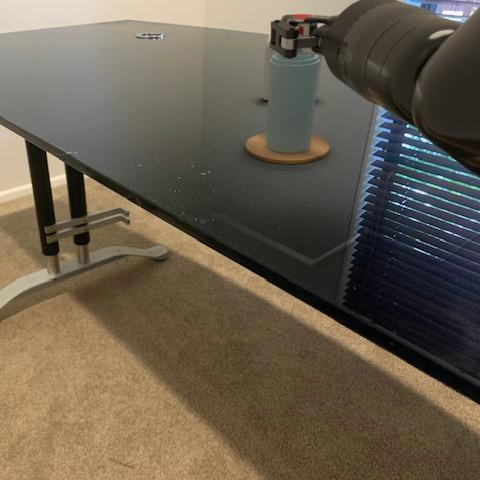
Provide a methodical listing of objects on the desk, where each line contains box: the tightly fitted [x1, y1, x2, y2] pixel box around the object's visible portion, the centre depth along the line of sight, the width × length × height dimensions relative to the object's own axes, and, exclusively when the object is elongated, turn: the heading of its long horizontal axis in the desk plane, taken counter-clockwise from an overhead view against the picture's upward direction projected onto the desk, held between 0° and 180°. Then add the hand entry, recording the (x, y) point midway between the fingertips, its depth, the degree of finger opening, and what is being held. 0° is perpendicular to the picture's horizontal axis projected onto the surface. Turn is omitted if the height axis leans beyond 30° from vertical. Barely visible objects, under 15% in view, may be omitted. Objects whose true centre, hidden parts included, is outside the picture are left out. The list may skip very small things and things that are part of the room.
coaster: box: [244, 132, 330, 165], centre depth 74 cm, size 12×12×1 cm
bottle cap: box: [281, 13, 314, 35], centre depth 66 cm, size 4×4×3 cm
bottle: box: [265, 49, 320, 153], centre depth 69 cm, size 6×6×17 cm
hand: (325, 22), depth 55 cm, fingers open, 8 cm apart
